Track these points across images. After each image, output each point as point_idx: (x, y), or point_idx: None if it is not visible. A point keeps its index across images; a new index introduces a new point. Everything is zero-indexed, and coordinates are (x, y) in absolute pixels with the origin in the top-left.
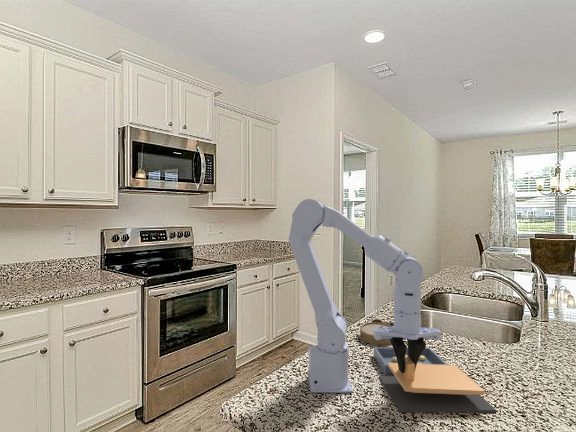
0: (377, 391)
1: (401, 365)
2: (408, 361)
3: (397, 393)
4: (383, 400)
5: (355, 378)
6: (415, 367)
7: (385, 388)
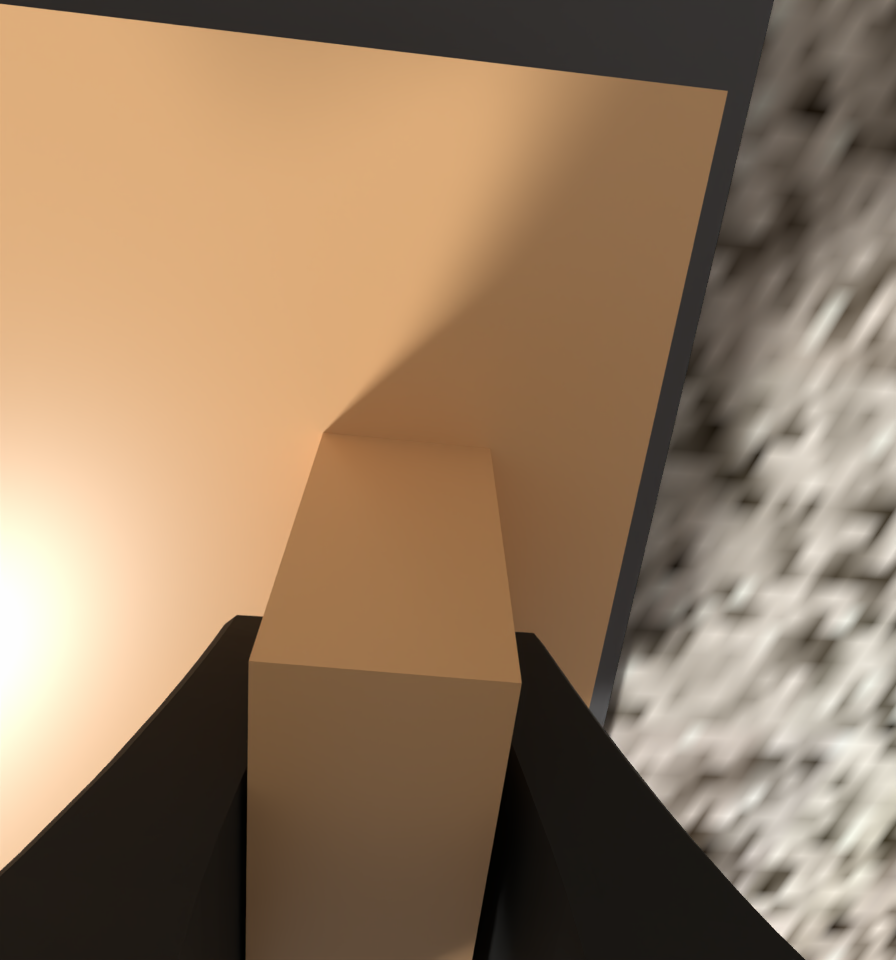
0: (759, 562)
1: (609, 736)
2: (388, 832)
3: None
4: (805, 348)
5: (864, 832)
6: (191, 678)
7: (619, 613)
